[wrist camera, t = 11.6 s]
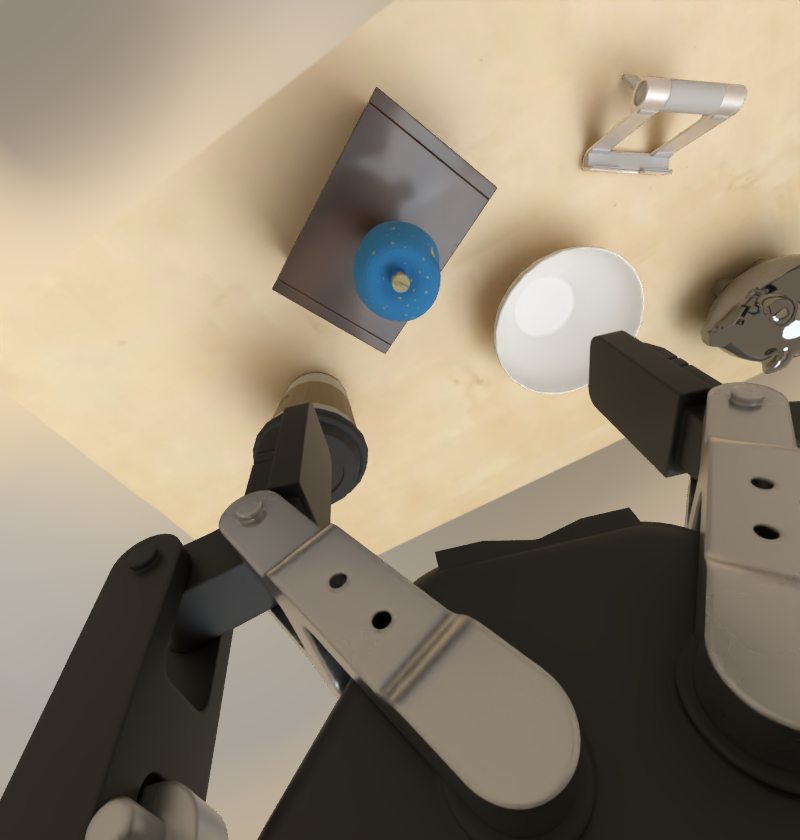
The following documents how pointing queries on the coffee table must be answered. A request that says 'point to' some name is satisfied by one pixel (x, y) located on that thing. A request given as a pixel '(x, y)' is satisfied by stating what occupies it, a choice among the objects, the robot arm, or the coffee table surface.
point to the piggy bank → (758, 313)
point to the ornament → (397, 271)
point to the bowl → (564, 316)
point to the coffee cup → (328, 428)
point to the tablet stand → (665, 97)
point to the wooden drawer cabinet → (379, 213)
